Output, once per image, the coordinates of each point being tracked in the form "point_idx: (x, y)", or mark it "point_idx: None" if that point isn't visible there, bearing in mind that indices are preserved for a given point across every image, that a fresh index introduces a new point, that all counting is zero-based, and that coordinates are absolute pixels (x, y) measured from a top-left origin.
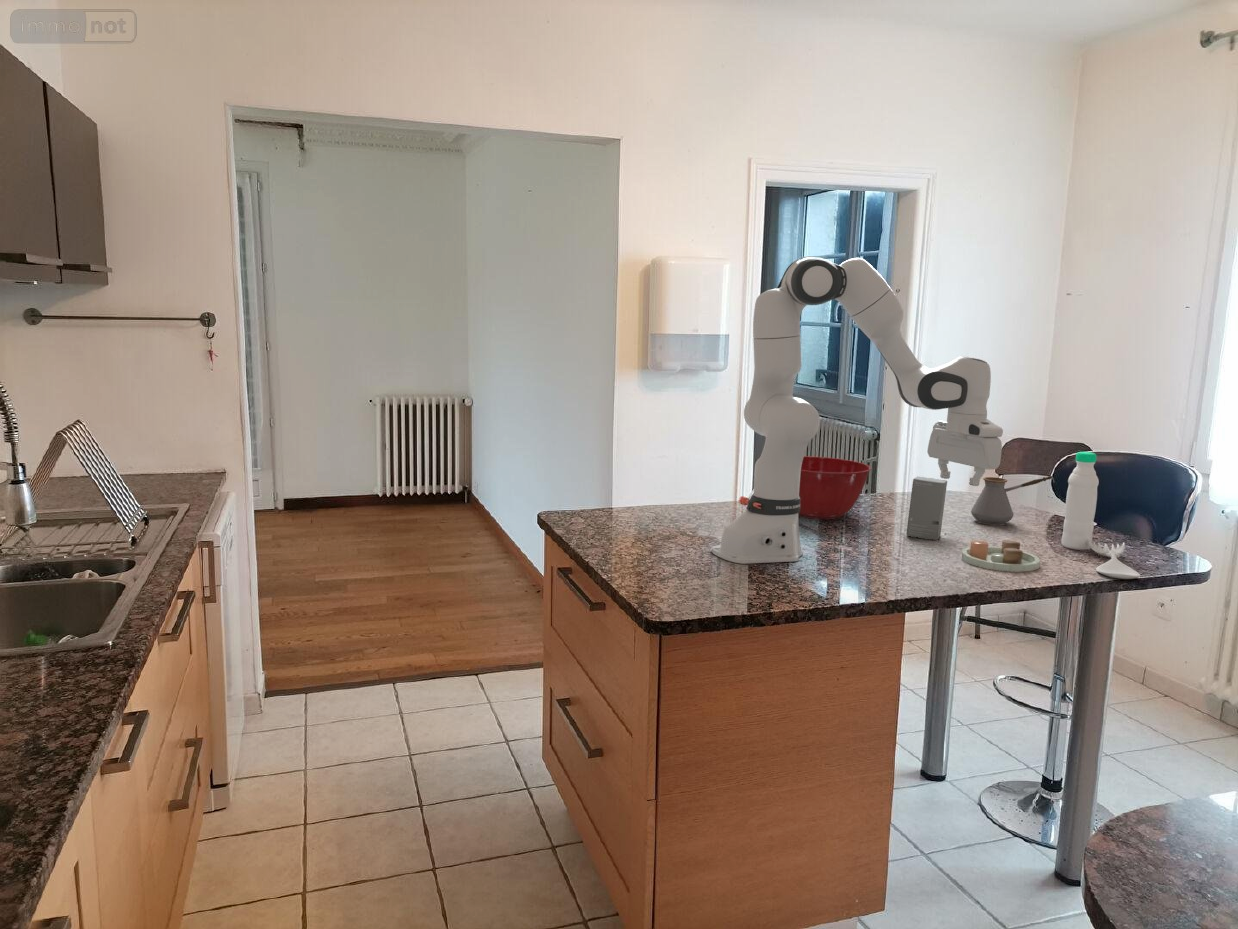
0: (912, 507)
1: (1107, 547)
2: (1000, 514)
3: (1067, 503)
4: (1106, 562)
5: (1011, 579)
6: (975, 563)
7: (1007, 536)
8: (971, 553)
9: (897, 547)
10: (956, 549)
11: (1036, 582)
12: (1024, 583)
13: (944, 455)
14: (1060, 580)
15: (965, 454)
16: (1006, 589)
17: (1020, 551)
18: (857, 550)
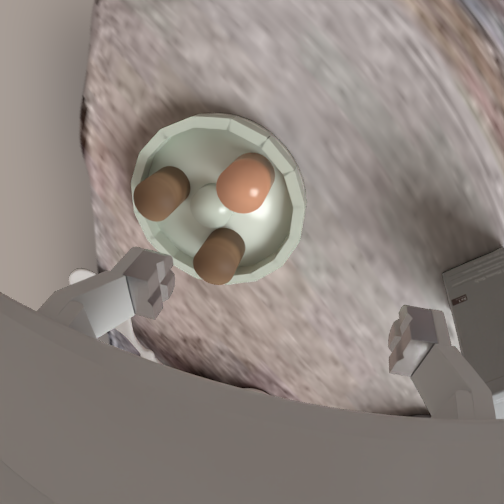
0: None
1: None
2: None
3: None
4: (129, 323)
5: (132, 127)
6: (208, 114)
7: (358, 389)
8: (254, 158)
9: (471, 127)
10: (370, 241)
11: (106, 157)
12: (107, 129)
13: (433, 459)
14: (108, 210)
15: (74, 437)
16: (91, 63)
17: (139, 207)
18: (495, 12)
